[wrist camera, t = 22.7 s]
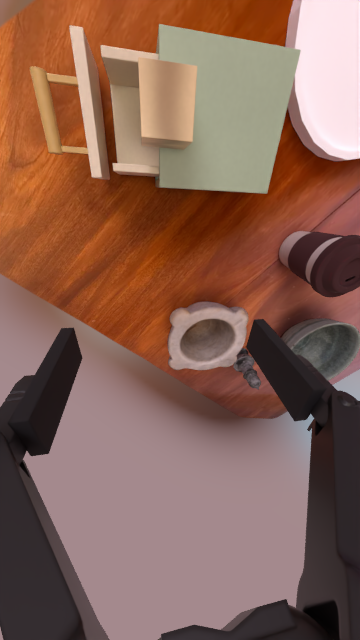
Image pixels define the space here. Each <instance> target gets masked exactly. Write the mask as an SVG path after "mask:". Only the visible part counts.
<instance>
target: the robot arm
mask: <svg viewBox="0 0 360 640" xmlns="http://www.w3.org/2000/svg"><path fill="white" fill-rule="evenodd" d="M246 347H247V349H248V350H249V352H250V353H251V355H252V357H253V358H254V360H255V361H256V363H257V364H258V366H259V367H260V369H261V370H262V372H263V373H264V375H265V377H266V378H267V380H268V381H269V383H270V384H271V386H272V387H273V389H274V390H275V392H276V393H277V395H278V397H279V398H280V400H281V401H282V403H283V404H284V406H285V407H286V409H287V410H288V412H289V413H290V415H291V417H292V418H293V419H294V421H300V420H306V419H307V418H308V416H309V415H310V413H311V414H312V416H313V417H314V420H313V421H312V423H311V424H310V426H309V427H308V429H307V430H308V431H310V430H311V428H312V439H311V456H310V473H309V491H308V509H307V527H306V543H305V560H304V569H303V573H302V576H301V578H300V581H299V585H298V591H297V603H296V608H295V607H293V606H290V605H288V603H287V600H286V599H285V600H281V601H278V602H274V603H271V604H267V605H263V606H260V607H257V608H254V609H250V610H248V611H244V612H242V613H240V614H239V615H238V616H236V618H234V619H233V620H232V621H231V622H230V623H228V624H227V625H226V626H225V627H224V628H223V629H221V630H217V629H213V628H208V627H203V626H197V625H192V626H188V627H185V628H182V629H178V630H174V631H170V632H167V633H164V634H161V638H162V640H360V401H357V400H356V399H355V398H354V397H353V396H351V395H350V394H348V393H346V392H343V391H337V390H336V389H335V388H334V387H333V386H332V385H331V384H330V383H329V381H328V380H327V379H326V378H325V377H324V376H323V375H322V374H321V373H320V372H318V370H317V369H316V368H315V367H313V365H312V364H311V363H310V362H309V361H308V360H307V359H306V358H304V357H303V356H301V355H300V354H299V355H296V354H295V353H294V352H293V351H292V350H291V349H290V348H289V347H288V346H287V345H286V343H285V342H284V341H283V340H282V339H281V338H280V337H279V336H278V335H277V334H276V333H275V331H274V330H273V329H272V328H271V327H270V326H269V325H268V324H267V323H266V322H265V321H264V319H258V320H254V322H253V326H252V329H251V332H250V336H249V339H248V343H247V346H246ZM81 360H82V355H81V352H80V348H79V345H78V341H77V338H76V334H75V331H74V328H62V329H61V330H60V332H59V334H58V335H57V337H56V339H55V341H54V342H53V344H52V346H51V348H50V350H49V351H48V353H47V355H46V357H45V358H44V360H43V362H42V363H41V365H40V367H39V369H38V370H37V372H36V374H35V375H31V376H24V377H23V378H22V379H21V380H19V381H18V382H17V383H16V384H15V386H14V387H13V389H12V391H11V392H10V394H9V395H8V397H7V398H6V400H5V402H4V403H3V404H2V406H1V407H0V627H1V631H2V635H3V639H4V640H109V638H108V636H107V635H106V633H105V631H104V629H103V628H102V626H101V625H100V623H99V621H98V619H97V617H96V615H95V613H94V611H93V608H92V606H91V604H90V602H89V600H88V598H87V595H86V593H85V591H84V589H83V587H82V585H81V582H80V580H79V578H78V576H77V574H76V572H75V570H74V567H73V565H72V563H71V561H70V559H69V557H68V554H67V552H66V550H65V548H64V546H63V544H62V541H61V539H60V537H59V535H58V533H57V531H56V529H55V526H54V524H53V522H52V520H51V518H50V516H49V514H48V511H47V509H46V507H45V505H44V503H43V500H42V498H41V496H40V494H39V492H38V490H37V488H36V485H35V483H34V481H33V479H32V477H31V475H30V473H29V470H28V468H27V466H26V464H25V462H24V460H23V458H24V455H25V453H26V451H28V453H29V454H30V455H31V456H36V455H43V454H48V453H49V451H50V448H51V445H52V443H53V440H54V437H55V434H56V431H57V428H58V426H59V423H60V420H61V417H62V414H63V411H64V409H65V406H66V403H67V400H68V397H69V394H70V391H71V389H72V385H73V383H74V380H75V377H76V374H77V372H78V369H79V366H80V363H81ZM161 638H160V639H158V640H161Z"/></svg>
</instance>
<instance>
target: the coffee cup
mask: <svg viewBox="0 0 360 640" xmlns="http://www.w3.org/2000/svg"><path fill="white" fill-rule="evenodd" d="M279 258H280V261H281V262H282V263H283V264H284V265H285V266H287V267H288V268H289V269H290V270H291V271H292V272H293V273H295V274H296V275H297V276H299V277H300V278H302V279H303V280H304V281H306V282H307V283H309V284H310V285H311V286H312V288H313V289H314V290H315V291H316V292H318V293H319V294H321V295H323V296H325V297H337V296H341V295H343V294H345V293H347V292H350V291H352V290H354V289H356V288H358V287H359V286H360V236H358V235H349V236H341V235H334V234H328V233H321V232H306V231H298V232H295V233H293V234H291V235H289V236H288V237H287V238H286V239H285V240H284V242H283V243H282V245H281V247H280V250H279Z"/></svg>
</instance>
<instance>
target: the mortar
mask: <svg viewBox="0 0 360 640" xmlns="http://www.w3.org/2000/svg"><path fill="white" fill-rule="evenodd" d="M170 322H171V324H172V327H171V330H170V333H169V337H168V350H169V354H170V358H169V360H168V364H169V366H170V367H171V368H173V369H175V370H181V369H184V368H189V369H194V370H208V369H213V368H216V367H219V366H222V367H229V366H231V365H233V364H234V363H235V362H236V360H237V356H236V355H237V354H238V353H239V352H240V350H241V349H242V347H243V345H244V342H245V338H246V334H247V329H246V325H247V322H248V313H247V312H246V310H245V309H243V308H241V307H230V308H228V307H226V306H224V305H222V304H219V303H215V302H207V301H203V302H197V303H194V304H192V305H190V306H188V307H187V308H178V309H176V310H174V311H173V312H172V314H171V315H170Z"/></svg>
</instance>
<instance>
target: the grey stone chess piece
mask: <svg viewBox="0 0 360 640" xmlns="http://www.w3.org/2000/svg"><path fill="white" fill-rule="evenodd" d="M236 356H237V360H236V362H235V363H234V369H235V370H236V371H239V372H242V373H243V377H244V379H246V380H247V381H248V383H249V385H250V387H252V388H256V389H258V390H259V386H260V385H261V381H260V379H259V378H258V376H257V372H256V371H255V370H254V369H253V367H252V366H253V365H254V359H253V358H252V357H251V356H249V355H248V351H247V350H246V349H243V348H242V349H241V350H240V352H239V353H238V354H237V355H236Z"/></svg>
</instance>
